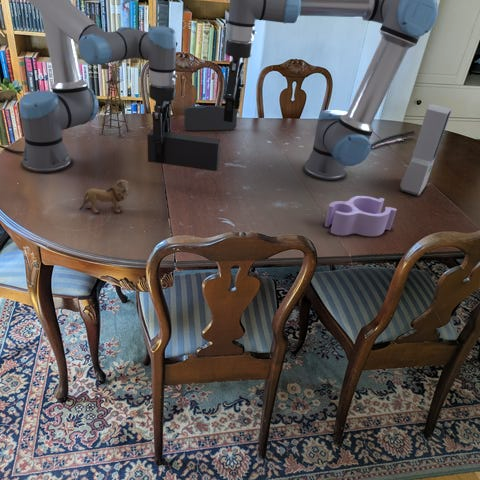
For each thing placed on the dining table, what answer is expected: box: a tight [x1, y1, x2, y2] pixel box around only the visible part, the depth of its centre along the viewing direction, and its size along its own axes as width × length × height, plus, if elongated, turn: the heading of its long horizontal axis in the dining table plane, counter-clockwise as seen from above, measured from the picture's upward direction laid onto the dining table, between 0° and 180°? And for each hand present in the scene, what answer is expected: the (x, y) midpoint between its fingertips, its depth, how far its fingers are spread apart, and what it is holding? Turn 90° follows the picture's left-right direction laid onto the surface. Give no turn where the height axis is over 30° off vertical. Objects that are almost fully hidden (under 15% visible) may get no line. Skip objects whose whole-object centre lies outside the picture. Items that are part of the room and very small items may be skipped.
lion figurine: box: [78, 179, 131, 214], centre depth 135 cm, size 15×5×9 cm, turn 110°
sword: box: [371, 136, 412, 150], centre depth 209 cm, size 31×3×1 cm, turn 126°
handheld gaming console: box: [183, 105, 239, 132], centre depth 200 cm, size 23×3×10 cm, turn 108°
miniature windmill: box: [100, 61, 130, 138], centre depth 181 cm, size 9×8×30 cm
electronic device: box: [399, 103, 452, 197], centre depth 162 cm, size 12×8×30 cm, turn 148°
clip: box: [324, 195, 398, 237], centre depth 141 cm, size 20×12×7 cm, turn 109°
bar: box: [146, 129, 222, 172], centre depth 146 cm, size 22×4×9 cm, turn 83°
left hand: (162, 158), depth 149 cm, fingers closed on bar, 4 cm apart
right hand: (231, 114), depth 143 cm, fingers open, 13 cm apart
